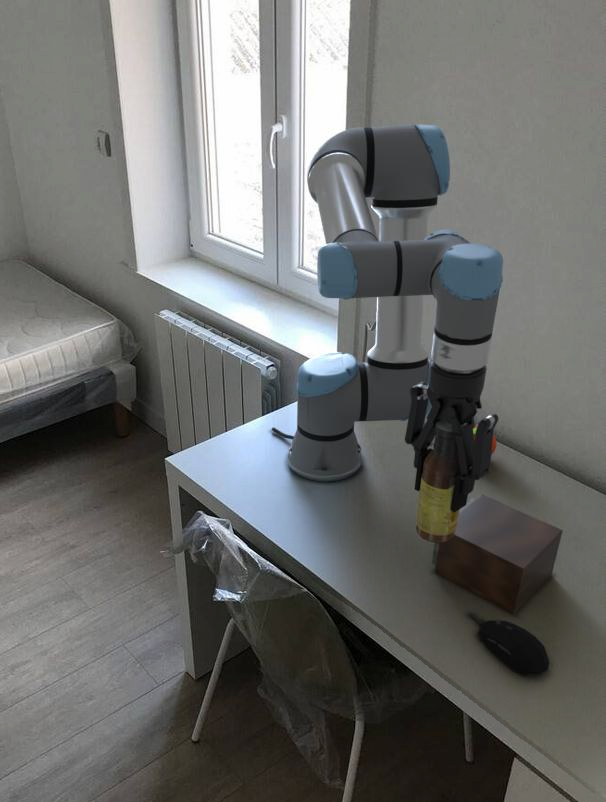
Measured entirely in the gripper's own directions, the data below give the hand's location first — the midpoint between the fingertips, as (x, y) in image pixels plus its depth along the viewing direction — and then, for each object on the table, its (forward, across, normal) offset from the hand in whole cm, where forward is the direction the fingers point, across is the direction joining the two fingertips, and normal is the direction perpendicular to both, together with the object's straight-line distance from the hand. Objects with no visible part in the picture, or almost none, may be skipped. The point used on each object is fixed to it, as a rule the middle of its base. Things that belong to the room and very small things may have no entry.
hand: (439, 496), depth 119 cm
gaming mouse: (+20, +15, 0) cm, 26 cm away
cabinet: (+20, +4, +12) cm, 24 cm away
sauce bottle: (+7, 0, 0) cm, 7 cm away
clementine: (+21, -20, +39) cm, 48 cm away
